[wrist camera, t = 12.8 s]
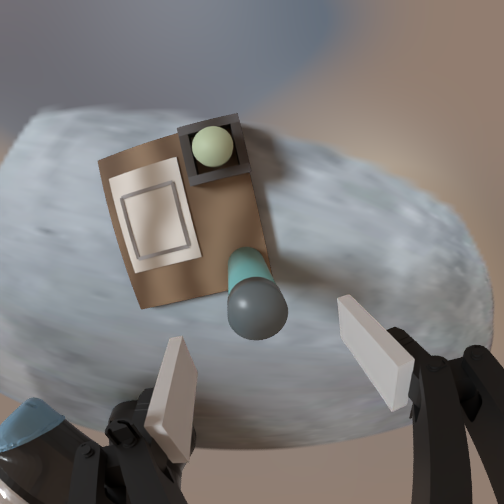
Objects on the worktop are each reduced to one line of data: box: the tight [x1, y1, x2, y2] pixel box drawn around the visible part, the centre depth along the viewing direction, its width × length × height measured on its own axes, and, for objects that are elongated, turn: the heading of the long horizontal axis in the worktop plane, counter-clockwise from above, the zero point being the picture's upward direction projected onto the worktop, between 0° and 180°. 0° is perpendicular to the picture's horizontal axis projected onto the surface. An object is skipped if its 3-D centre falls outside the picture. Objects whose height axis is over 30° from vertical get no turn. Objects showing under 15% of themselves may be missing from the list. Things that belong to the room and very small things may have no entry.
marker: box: [227, 247, 288, 340], centre depth 25 cm, size 4×4×12 cm
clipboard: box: [98, 113, 273, 309], centre depth 28 cm, size 16×18×4 cm
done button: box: [192, 126, 233, 168], centre depth 24 cm, size 4×4×3 cm
